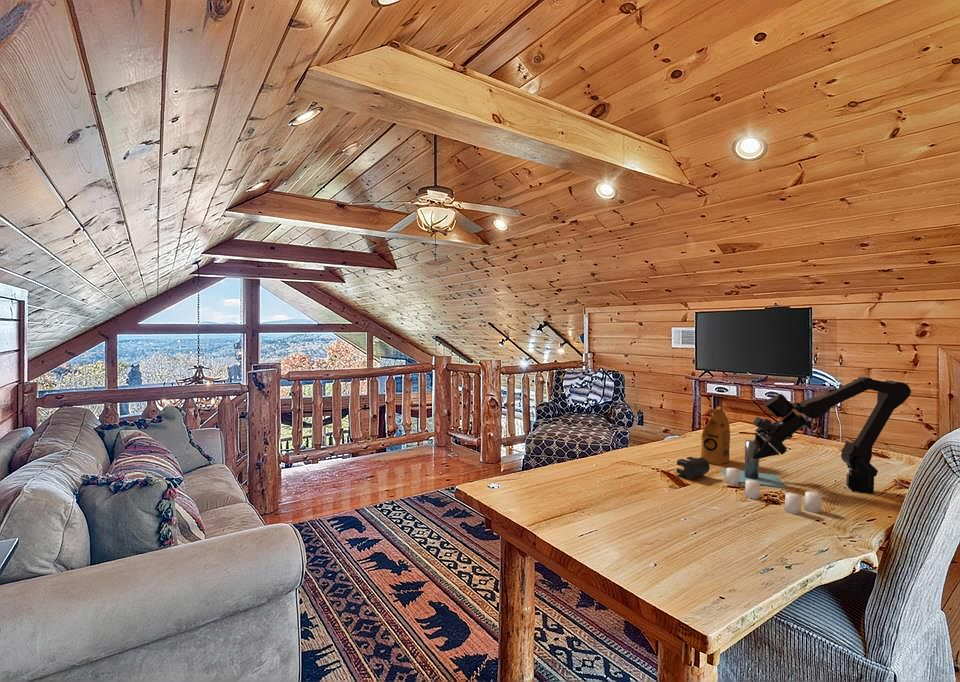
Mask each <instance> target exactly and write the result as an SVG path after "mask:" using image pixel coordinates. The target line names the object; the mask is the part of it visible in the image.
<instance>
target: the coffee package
mask: <svg viewBox="0 0 960 682" xmlns="http://www.w3.org/2000/svg"><path fill="white" fill-rule="evenodd" d="M708 412H709V413H711V414H712V415H711V417H710V418H709V422H708V423H706V424H705V427H704V428H703V430H702V434H701V447H700V448H701V451H700V452H701V453H700V458H701V457H702V458H704V459H706V460H707V461H708V463H709V464H712V465H716V466H723V465H724V464H728V463H729V461H730V454H731V453H730V444H731V430H730V428H731V427H730V421H729V419H728V417H727V415H726V413H725V412H724V409H723V407H722V406H720V405H719V406H717V407H716V408H711V409H710V410H709V411H708Z"/></svg>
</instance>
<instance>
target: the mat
mask: <svg viewBox="0 0 960 682" xmlns="http://www.w3.org/2000/svg"><path fill="white" fill-rule="evenodd" d="M720 472H721V473H722V474H723V476H724V478H725V479H726V468H721V469H720ZM744 474H745V470H739V484H744V485H745V481H746V480H748V479H749V480H756V481H759V482H760V486H761V485H763V487H771V486H772V487H771V488H779V489H780V488H781V489H787V488H788V487H787V485H786V484H785V483H784V481H782V480H781V479H780V478H779V477H778V476H777V475H776V474H775V473H765V472H759V477H758V479H750V478H746V477H745V476H744Z"/></svg>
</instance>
